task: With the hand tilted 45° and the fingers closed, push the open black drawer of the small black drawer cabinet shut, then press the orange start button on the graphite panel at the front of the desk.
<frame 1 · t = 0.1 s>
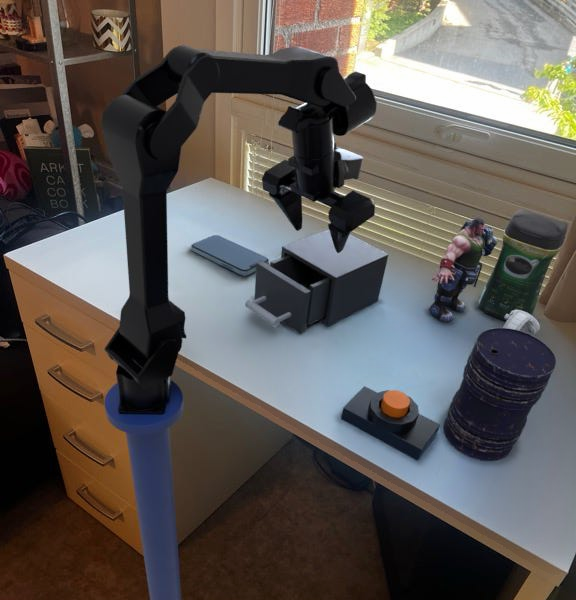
hand: (318, 240, 90), 13 cm above the table, tool pointing down, fingers open, 9 cm apart
black drawer cabinet: (327, 298, 101), on the table
watch: (496, 372, 89), on the table
button panel: (388, 427, 77), on the table
coffee jar: (503, 311, 104), on the table
action figure: (448, 312, 102), on the table
smartphone: (229, 259, 109), on the table
navy cylinder: (477, 435, 78), on the table
open black drawer: (296, 290, 93), point 5 cm above the table, slide at 5.0 cm
start button: (395, 403, 74), point 4 cm above the table, slide at 0.1 cm
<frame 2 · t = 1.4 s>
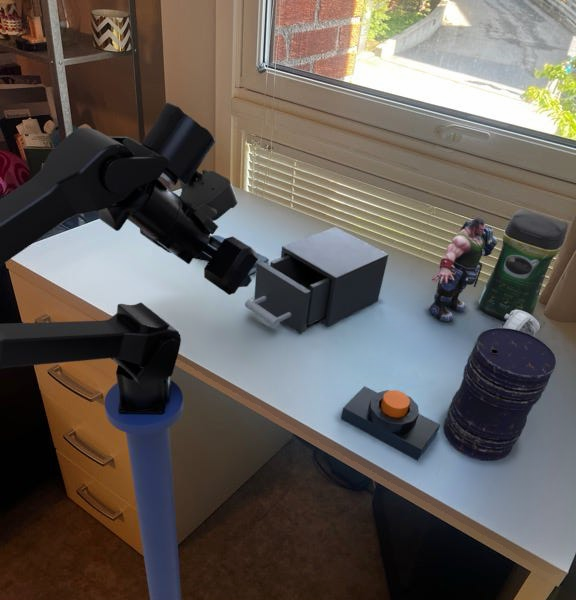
hand: (229, 270, 79), 13 cm above the table, tool tilted 45°, fingers open, 8 cm apart
nothing on the table moved.
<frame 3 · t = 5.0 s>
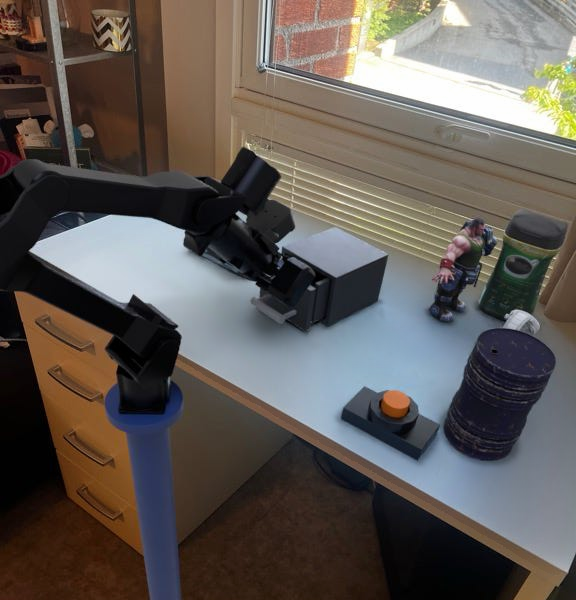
hand: (283, 283, 90), 7 cm above the table, tool tilted 45°, fingers closed, pressing on open black drawer
open black drawer: (301, 288, 94), point 5 cm above the table, slide at 3.8 cm, touching gripper
everything else where it was.
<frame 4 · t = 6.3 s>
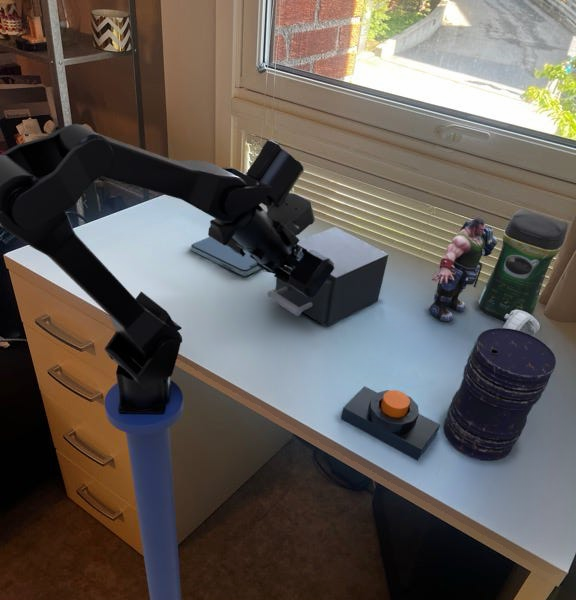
hand: (300, 276, 92), 7 cm above the table, tool tilted 45°, fingers closed, pressing on open black drawer
open black drawer: (316, 281, 96), point 5 cm above the table, slide at 0.0 cm, touching black drawer cabinet, gripper
everything else where it was.
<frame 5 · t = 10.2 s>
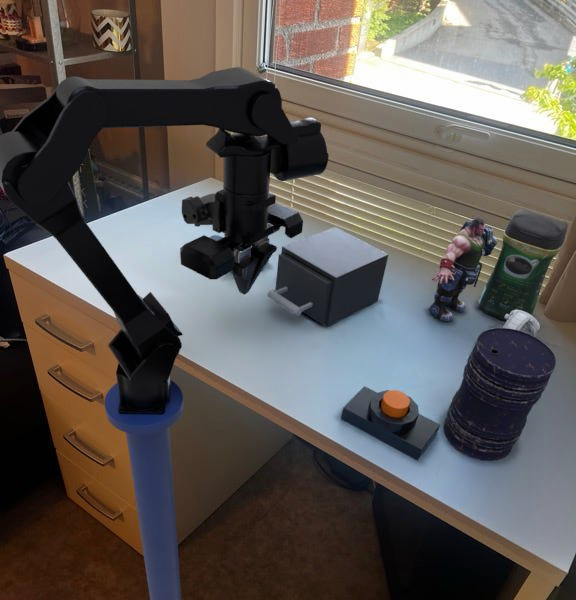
hand: (243, 292, 79), 11 cm above the table, tool pointing down, fingers closed
open black drawer: (316, 281, 96), point 5 cm above the table, slide at 0.0 cm, touching black drawer cabinet
everything else where it was.
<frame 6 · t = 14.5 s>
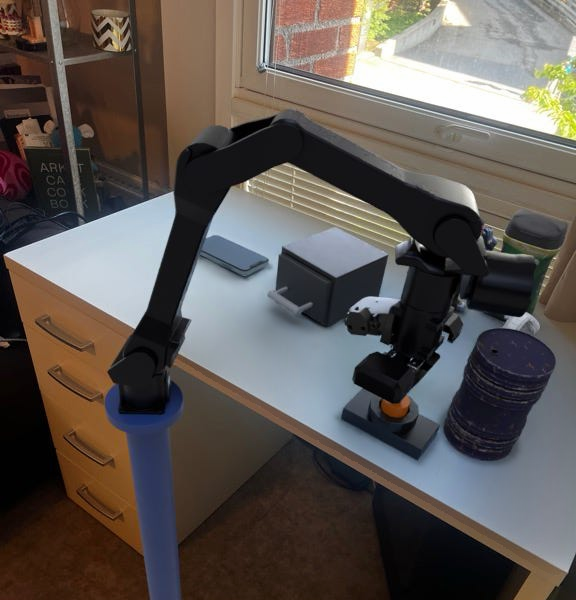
hand: (396, 399, 74), 5 cm above the table, tool pointing down, fingers closed, pressing on start button
start button: (395, 403, 74), point 4 cm above the table, slide at 0.1 cm, touching gripper
everything else where it was.
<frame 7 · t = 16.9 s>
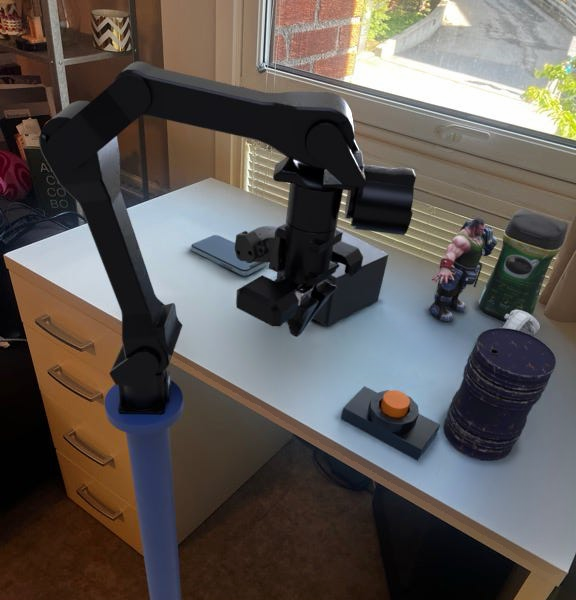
hand: (295, 334, 72), 12 cm above the table, tool pointing down, fingers closed
start button: (395, 403, 74), point 4 cm above the table, slide at 0.1 cm
everything else where it was.
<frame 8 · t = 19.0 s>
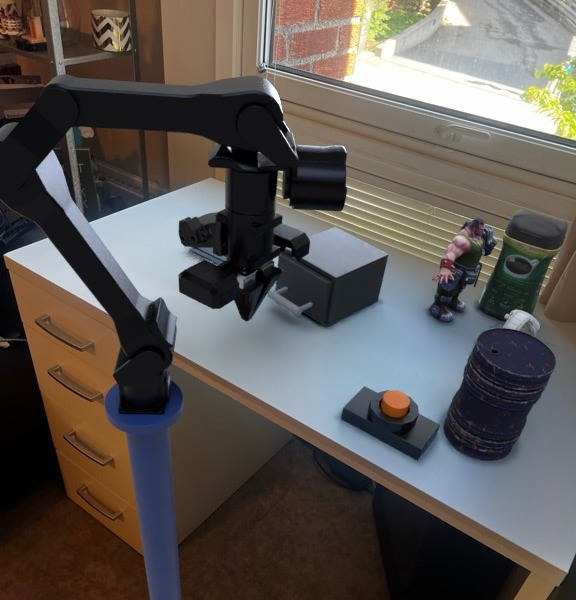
hand: (246, 319, 73), 12 cm above the table, tool pointing down, fingers closed
nothing on the table moved.
at the end: open black drawer slide at 0.0 cm; start button pushed in 1.1 cm at the most during the clip, back to where it started at the end; start button slide at 0.1 cm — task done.
